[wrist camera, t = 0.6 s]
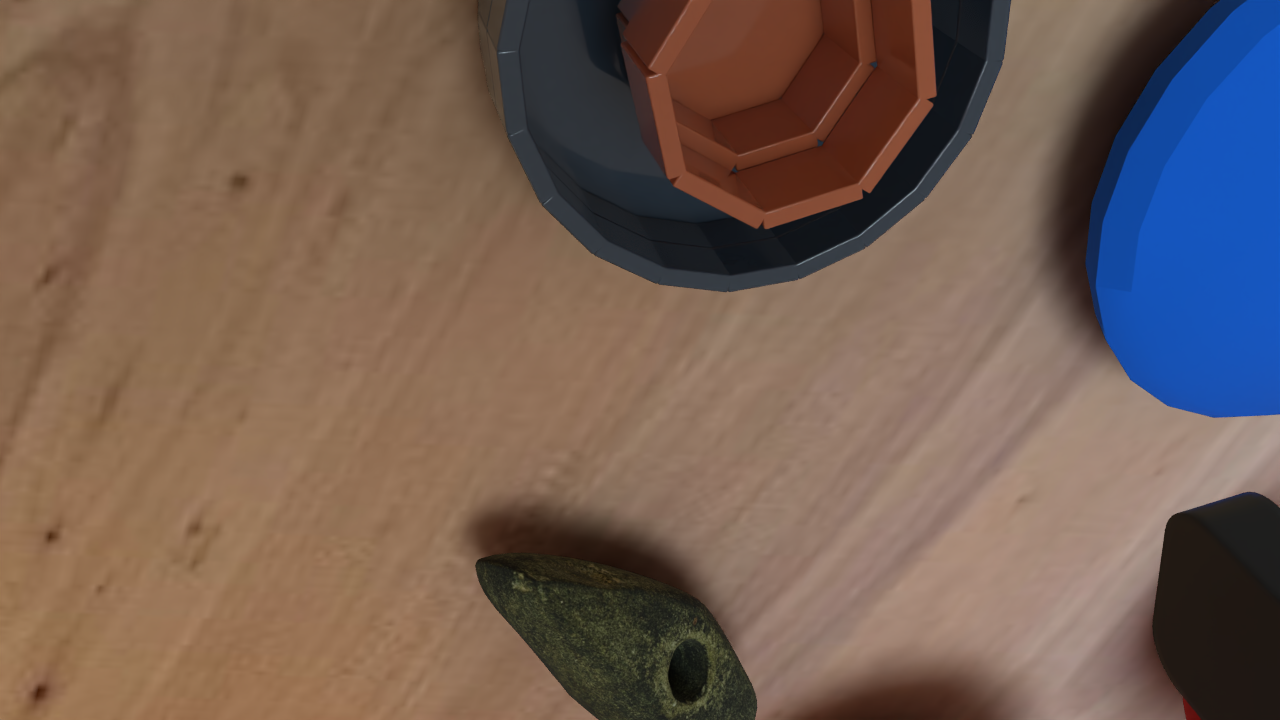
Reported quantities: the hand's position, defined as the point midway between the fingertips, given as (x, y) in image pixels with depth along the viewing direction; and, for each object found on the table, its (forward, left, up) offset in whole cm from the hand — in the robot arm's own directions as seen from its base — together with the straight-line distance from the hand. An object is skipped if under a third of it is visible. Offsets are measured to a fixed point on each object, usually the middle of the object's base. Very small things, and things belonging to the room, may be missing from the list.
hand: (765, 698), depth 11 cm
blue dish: (+24, +8, -21) cm, 33 cm away
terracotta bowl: (+5, +3, -21) cm, 22 cm away
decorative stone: (+13, -15, -21) cm, 29 cm away
